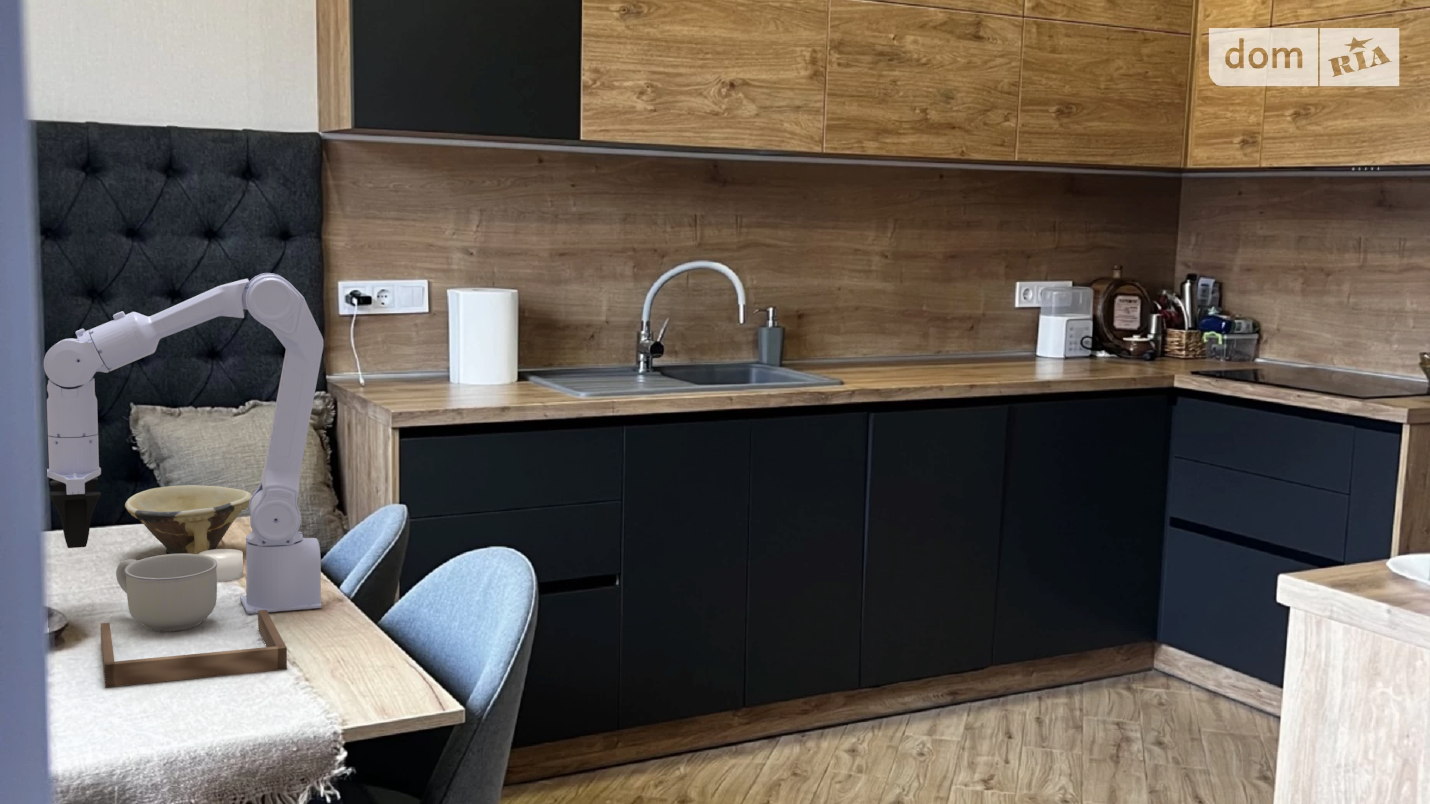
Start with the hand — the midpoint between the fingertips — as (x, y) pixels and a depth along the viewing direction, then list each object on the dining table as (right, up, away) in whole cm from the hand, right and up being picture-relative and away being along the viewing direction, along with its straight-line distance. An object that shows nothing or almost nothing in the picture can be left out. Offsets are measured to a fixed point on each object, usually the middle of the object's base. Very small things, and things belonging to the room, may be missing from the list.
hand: (76, 540), depth 172 cm
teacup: (+11, -11, 0) cm, 15 cm away
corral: (+20, -12, -13) cm, 27 cm away
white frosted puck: (+10, -8, +23) cm, 27 cm away
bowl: (+1, -6, +35) cm, 35 cm away
